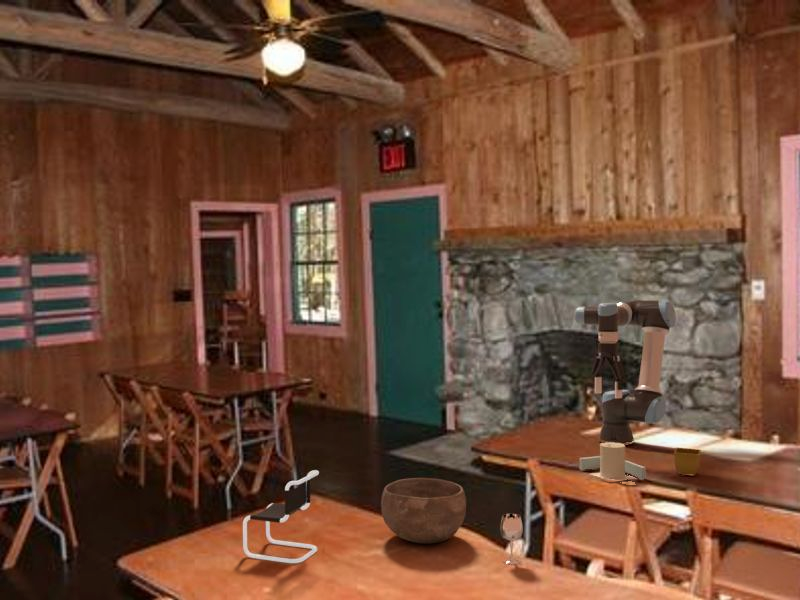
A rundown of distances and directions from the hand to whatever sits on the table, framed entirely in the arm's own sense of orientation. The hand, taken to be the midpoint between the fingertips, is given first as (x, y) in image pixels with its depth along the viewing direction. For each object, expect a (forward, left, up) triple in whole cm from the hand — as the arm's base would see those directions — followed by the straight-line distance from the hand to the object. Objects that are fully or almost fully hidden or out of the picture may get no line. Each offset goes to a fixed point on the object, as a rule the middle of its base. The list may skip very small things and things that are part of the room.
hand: (608, 395), depth 315 cm
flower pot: (-16, +27, -27) cm, 41 cm away
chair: (+142, +53, -27) cm, 154 cm away
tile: (+12, +20, -27) cm, 35 cm away
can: (+12, +20, -26) cm, 35 cm away
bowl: (+102, +57, -27) cm, 120 cm away
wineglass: (+87, +82, -27) cm, 123 cm away
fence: (+10, +16, -27) cm, 33 cm away
